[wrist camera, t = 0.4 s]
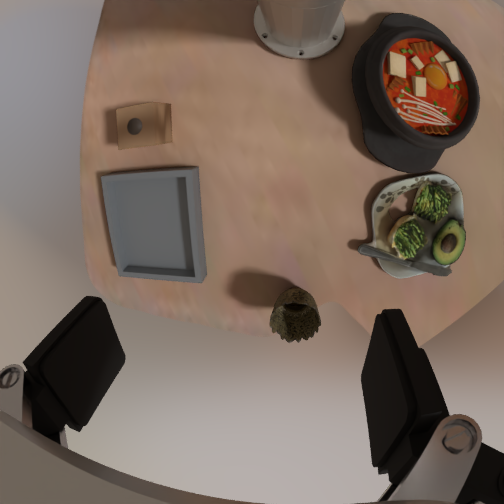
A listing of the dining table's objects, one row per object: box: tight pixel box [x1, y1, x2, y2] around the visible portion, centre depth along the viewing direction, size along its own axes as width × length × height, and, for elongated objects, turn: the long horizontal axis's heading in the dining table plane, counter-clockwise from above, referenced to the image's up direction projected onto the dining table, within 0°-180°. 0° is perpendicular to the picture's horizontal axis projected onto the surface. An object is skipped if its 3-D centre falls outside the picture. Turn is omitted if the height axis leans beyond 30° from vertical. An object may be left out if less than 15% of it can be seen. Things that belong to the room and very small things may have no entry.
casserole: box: [352, 13, 480, 173], centre depth 28 cm, size 25×19×8 cm
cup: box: [270, 287, 321, 343], centre depth 45 cm, size 7×7×8 cm
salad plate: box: [358, 173, 466, 278], centre depth 39 cm, size 19×18×5 cm
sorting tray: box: [101, 167, 207, 283], centre depth 45 cm, size 18×16×3 cm
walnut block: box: [116, 102, 172, 150], centre depth 37 cm, size 6×6×6 cm
